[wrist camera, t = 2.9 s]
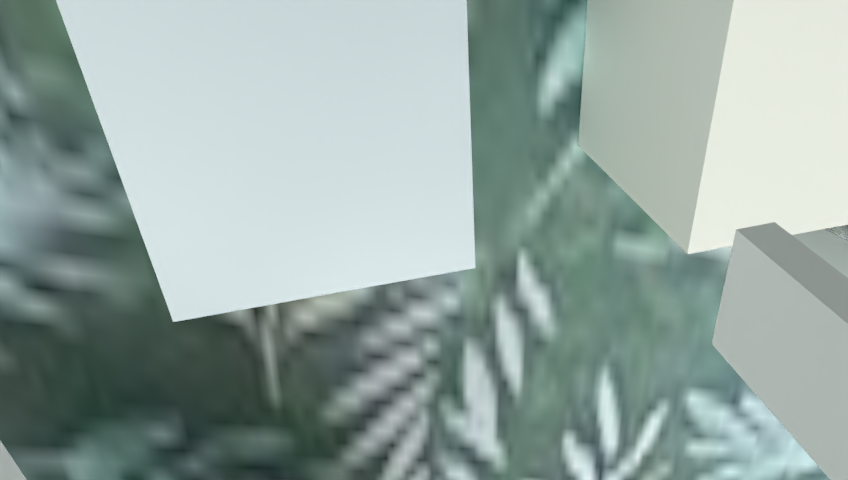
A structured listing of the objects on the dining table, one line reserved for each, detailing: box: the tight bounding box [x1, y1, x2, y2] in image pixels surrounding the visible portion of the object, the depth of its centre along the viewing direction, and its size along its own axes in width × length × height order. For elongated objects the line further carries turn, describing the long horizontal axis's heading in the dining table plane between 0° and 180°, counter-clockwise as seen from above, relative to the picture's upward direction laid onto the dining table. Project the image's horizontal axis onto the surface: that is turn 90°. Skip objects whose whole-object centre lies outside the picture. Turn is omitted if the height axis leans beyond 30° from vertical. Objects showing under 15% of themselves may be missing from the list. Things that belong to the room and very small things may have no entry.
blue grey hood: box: [56, 0, 475, 322], centre depth 23 cm, size 10×10×10 cm
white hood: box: [578, 0, 848, 254], centre depth 26 cm, size 10×10×10 cm
